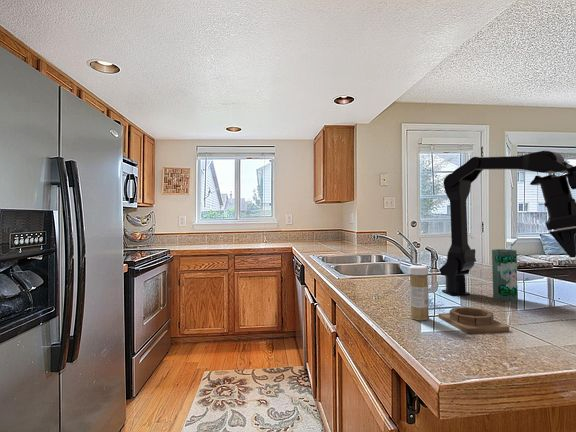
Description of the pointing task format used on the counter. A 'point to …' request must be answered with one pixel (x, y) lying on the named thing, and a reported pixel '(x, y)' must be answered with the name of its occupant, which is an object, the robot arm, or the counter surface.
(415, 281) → the sprinkles bottle
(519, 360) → the counter surface
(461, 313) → the holder
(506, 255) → the can
